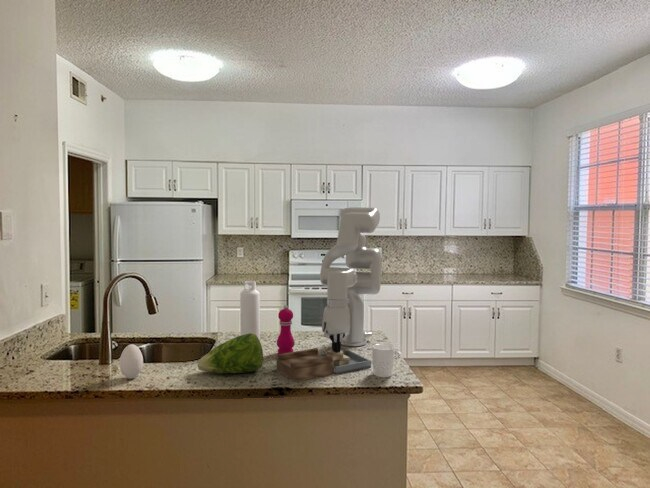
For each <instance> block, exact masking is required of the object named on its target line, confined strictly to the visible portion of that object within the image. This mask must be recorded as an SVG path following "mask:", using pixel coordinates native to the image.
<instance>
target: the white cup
mask: <svg viewBox="0 0 650 488" xmlns="http://www.w3.org/2000/svg"><path fill="white" fill-rule="evenodd" d="M371 351H372V355H371V356H372V357H371V358H372V368H373V369H372V372H373V375H374V376H375V377H377V378H378V377H379V378H389V377H392V376H393V371H394V370H393V368H394V361H395V346H394V345H392V344H390V343H389V344H388V343H375V344H373V345H371Z"/></svg>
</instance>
